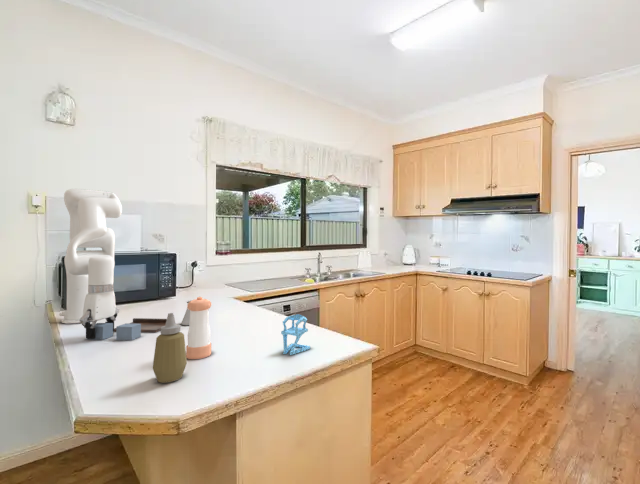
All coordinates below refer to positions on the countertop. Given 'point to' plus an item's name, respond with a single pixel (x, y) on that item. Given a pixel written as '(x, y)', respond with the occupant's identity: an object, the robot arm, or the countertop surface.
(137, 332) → the pad
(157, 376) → the squeeze bottle
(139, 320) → the backing board
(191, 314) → the pepper shaker
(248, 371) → the countertop surface
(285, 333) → the chair
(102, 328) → the pad
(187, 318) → the flask
